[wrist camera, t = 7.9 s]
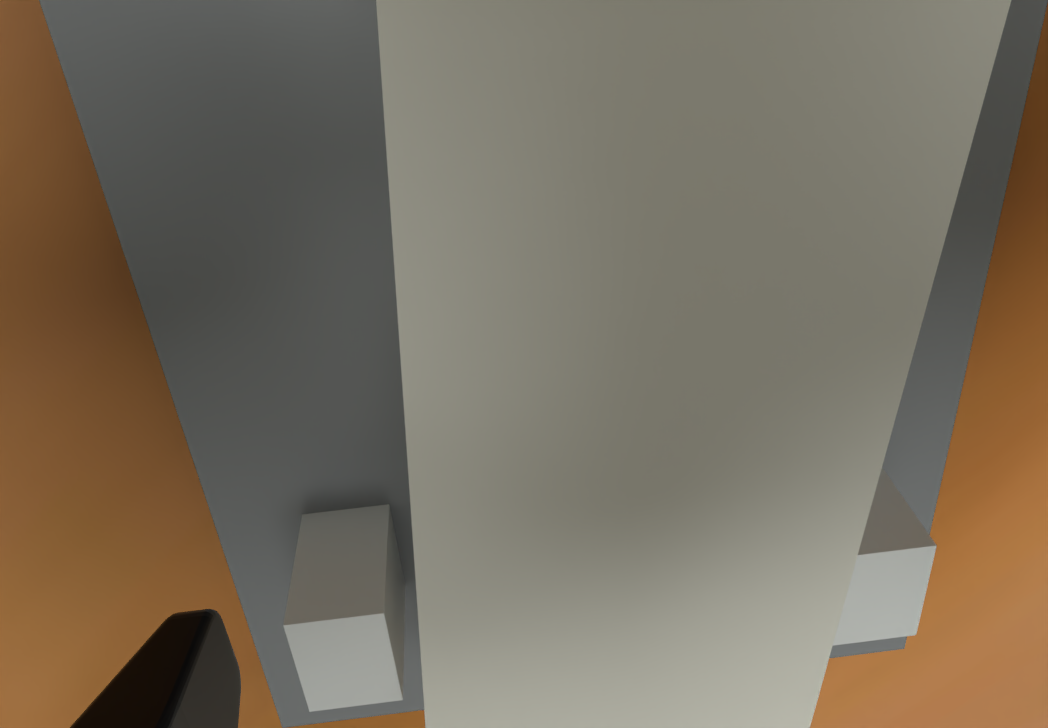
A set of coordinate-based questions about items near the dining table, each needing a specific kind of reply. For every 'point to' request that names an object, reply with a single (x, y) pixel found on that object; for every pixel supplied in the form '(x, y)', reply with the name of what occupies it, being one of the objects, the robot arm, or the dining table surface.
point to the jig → (386, 321)
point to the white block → (658, 334)
